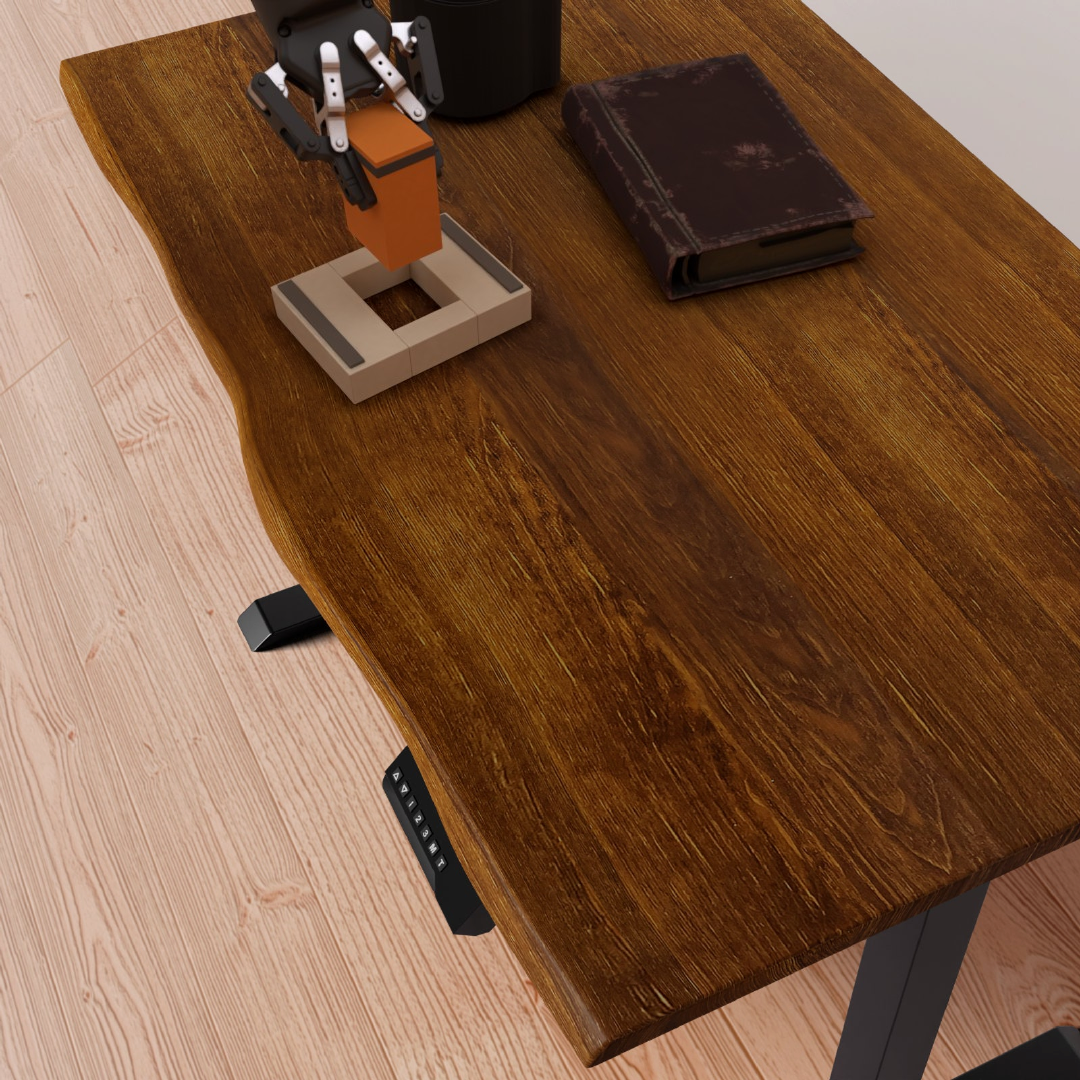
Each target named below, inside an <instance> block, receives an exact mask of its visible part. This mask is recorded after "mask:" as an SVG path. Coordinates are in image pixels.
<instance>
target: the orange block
mask: <svg viewBox="0 0 1080 1080" xmlns="http://www.w3.org/2000/svg"><path fill="white" fill-rule="evenodd" d="M345 123H346V129H347V136H348V142H349V146H348V148H349V150H350V151H352V150H354V152H355V154H356V156H357V158H358V160H359V162H360V163H361V165H362V167H363V169H364V171H365V174H366V176H367V178H368V180H369V182H370V184H371V186H372V188H373V190H374V193H375V195H376V197H377V204H376V205H375V206H373V207H372V208H370V209H368V210H366V211H363V212H362V211H361V210H360V209H359V207H358V205H354V206H352V205H351V204H350V203H349V202H348V201H347V200H346V198H345V195H344V193H343V191H342V190H341V194H342V200H343V206H344V212H345V219H346V223H347V230H348V231H349V232H350V233H351V234H352V235H353V237H355V239H357V240H358V241H359V243H360V244H361V245H363V247H366V248H367V249H368V250H369V251H370V252H371V253H372V254H373V255H374V256H375V257H376V258H377V259H378V260H379V261H380V262H381V263H382V264H383V265H384V266H385V267H386V268H387V269H388V270H389V271H390V272H392V271H394V270H396V269H398V268H401V267H403V266H405V265H407V264H409V263H412V262H414V261H416V260H418V259H421V258H423V257H425V256H427V255H430V254H432V253H434V252H436V251H439V250H441V249H443V246H442V235H441V223H440V214H441V212H440V201H439V190H438V180H437V177H436V166H435V145H434V143H433V139H432V138H431V137H430V136H428V135H427V134H426V133H425V132H424V131H423V130H421V129H420V128H419V127H418V126H417V125H416V124H414V123H413V122H412V121H411V120H410V119H409V118H408V117H406V116H405V115H404V114H403V113H402V112H401V111H399V110H398V109H397V108H396V107H395V106H394V105H392V104H391V103H390V102H389V103H385V102H383V101H382V102H379V103H373V104H372V105H369V106H367V107H364V108H361V109H358V110H356V111H353V112H351V113H349V114H345Z"/></svg>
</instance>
